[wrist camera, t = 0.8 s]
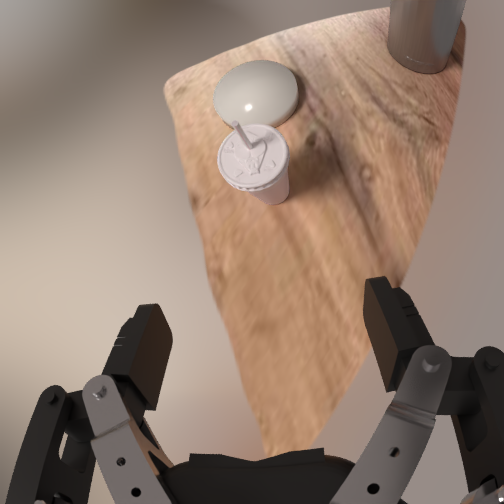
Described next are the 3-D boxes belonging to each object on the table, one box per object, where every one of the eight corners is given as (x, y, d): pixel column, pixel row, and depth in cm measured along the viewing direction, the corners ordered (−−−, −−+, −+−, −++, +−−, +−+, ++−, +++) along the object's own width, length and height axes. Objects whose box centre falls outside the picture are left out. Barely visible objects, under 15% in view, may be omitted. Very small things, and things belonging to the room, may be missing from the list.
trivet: (234, 66, 39) (230, 58, 37) (307, 73, 36) (306, 64, 34) (206, 127, 39) (200, 120, 37) (285, 140, 35) (282, 132, 34)
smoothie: (294, 158, 35) (269, 86, 21) (306, 209, 34) (287, 155, 20) (242, 171, 36) (193, 109, 23) (251, 222, 35) (200, 178, 22)
